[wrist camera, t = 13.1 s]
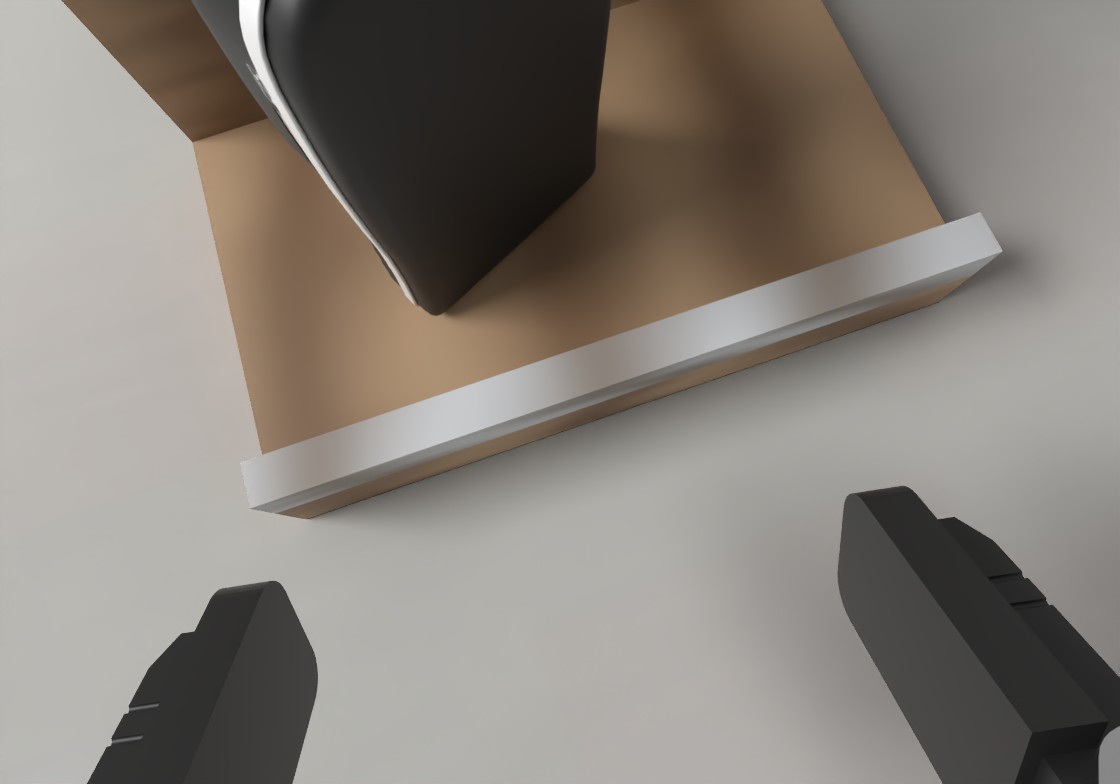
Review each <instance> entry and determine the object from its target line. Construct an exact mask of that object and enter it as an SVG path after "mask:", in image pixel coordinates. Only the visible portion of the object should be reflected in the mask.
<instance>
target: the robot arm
mask: <svg viewBox="0 0 1120 784" xmlns="http://www.w3.org/2000/svg"><path fill="white" fill-rule="evenodd" d="M838 584H839V590H840V595H841V599H842V602H843V605H844V608H845V610H846V613H847V615H848V617H849V619H850V621H851V622H852V624H853V626H854V628H855V629H856V631H857V633H858V635H859V637H860V638H861V640H862V642H863V644H864V645H865V647H866V649H867V651H868V652H869V654H870V656H871V658H872V659H873V661H874V663H875V665H876V666H877V668H878V670H879V672H880V673H881V675H882V677H883V679H884V681H885V682H886V684H887V686H888V688H889V689H890V691H891V693H892V695H893V696H894V698H895V700H896V702H897V703H898V705H899V707H900V709H901V710H902V712H903V714H904V716H905V718H906V719H907V721H908V723H909V725H910V726H911V728H912V730H913V732H914V733H915V735H916V737H917V739H918V740H919V742H920V744H921V746H922V747H923V749H924V751H925V753H926V755H927V756H928V758H929V760H930V762H931V763H932V765H933V767H934V769H935V770H936V772H937V774H938V776H939V777H940V779H941V781H942V783H943V784H1120V678H1119V676H1118V675H1117V674H1116V673H1115V672H1114V671H1113V670H1112V669H1111V668H1110V667H1109V666H1108V664H1107V663H1106V662H1105V661H1104V660H1103V659H1102V658H1101V657H1100V656H1099V655H1098V654H1097V653H1096V651H1095V650H1094V649H1093V648H1092V647H1091V646H1090V645H1089V644H1088V643H1087V642H1086V641H1085V640H1084V638H1083V637H1082V636H1081V635H1080V634H1079V633H1078V632H1077V631H1076V630H1075V629H1074V628H1073V626H1072V625H1071V624H1070V623H1069V622H1068V621H1067V620H1066V619H1065V618H1064V617H1063V616H1062V615H1061V613H1060V612H1059V611H1058V610H1057V609H1056V608H1055V607H1054V606H1053V605H1048V603H1047V601H1046V597H1045V596H1044V595H1043V594H1042V593H1041V592H1040V591H1039V590H1038V588H1037V587H1036V586H1035V585H1034V584H1033V583H1032V582H1031V581H1030V580H1029V579H1028V578H1024V577H1023V575H1022V571H1021V570H1020V569H1019V568H1018V567H1017V566H1016V565H1015V564H1014V562H1013V561H1012V560H1011V559H1010V558H1009V557H1008V556H1007V555H1006V554H1005V553H1004V552H1003V550H1002V549H1001V548H1000V547H999V546H998V545H997V544H996V543H995V542H994V541H993V540H991V539H990V538H988V537H986V536H985V535H983V534H981V533H980V532H978V531H977V530H975V529H973V528H972V527H970V526H968V525H967V524H965V523H963V522H962V521H960V520H958V519H957V518H955V517H951V518H945V519H937V518H936V517H935V516H934V514H933V513H932V512H931V511H930V510H929V509H928V507H927V506H926V505H925V504H924V503H923V502H922V500H921V499H920V498H919V497H918V496H917V494H916V493H915V492H914V491H913V490H911V489H910V488H908V487H906V486H899V487H892V488H886V489H879V490H873V491H866V492H859V493H853V494H849V495H848V496H847V498H846V500H845V504H844V512H843V522H842V533H841V543H840V554H839V564H838ZM317 684H318V671H317V663H316V658H315V654H314V651H313V649H312V647H311V645H310V642H309V640H308V638H307V636H306V634H305V632H304V630H303V628H302V625H301V623H300V621H299V619H298V617H297V615H296V613H295V611H294V608H293V606H292V604H291V602H290V600H289V598H288V596H287V593H286V591H285V590H284V588H283V586H282V585H281V584H280V583H279V582H277V581H268V582H262V583H255V584H249V585H242V586H236V587H229V588H223V589H220V590H218V591H217V592H216V593H215V594H214V595H213V596H212V598H211V600H210V601H209V603H208V605H207V607H206V609H205V612H204V614H203V616H202V618H201V620H200V622H199V624H198V626H197V628H196V630H195V632H189V633H182V634H180V636H179V637H178V638H177V639H176V640H175V641H174V642H173V643H172V644H171V645H170V646H169V647H168V648H167V649H166V651H165V652H164V653H163V654H162V655H161V656H160V657H159V658H158V659H157V660H156V661H155V662H154V663H153V664H152V665H151V667H150V668H149V669H148V671H147V673H146V675H145V677H144V678H143V680H142V682H141V684H140V686H139V688H138V690H137V691H136V693H135V695H134V697H133V699H132V701H131V703H130V705H129V713H127V714H124V716H123V718H122V719H121V721H120V723H119V725H118V727H117V729H116V731H115V733H114V734H113V736H112V738H111V739H112V745H111V746H109V747H106V749H105V751H104V753H103V755H102V757H101V759H100V761H99V762H98V764H97V766H96V768H95V770H94V772H93V774H92V775H91V777H90V779H89V781H88V783H87V784H292V783H293V780H294V776H295V772H296V768H297V765H298V761H299V757H300V754H301V750H302V746H303V743H304V739H305V735H306V732H307V728H308V724H309V721H310V717H311V713H312V709H313V706H314V702H315V698H316V693H317Z"/></svg>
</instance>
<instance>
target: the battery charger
mask: <svg viewBox="0 0 1120 784" xmlns="http://www.w3.org/2000/svg"><path fill="white" fill-rule="evenodd" d="M191 1H192V3H193V4H194V6H195V8H196V9H197V11H198V12H199V14H200V16H201V17H202V19H203V20H204V22H205V24H206V25H207V27H208V28H209V30H210V32H211V33H212V35H213V36H214V38H215V39H216V41H217V43H218V44H219V46H220V47H221V49H222V50H223V52H224V53H225V55H226V57H227V58H228V60H229V61H230V63H231V64H232V66H233V67H234V69H235V70H236V72H237V73H238V75H239V76H240V78H241V79H242V81H243V82H244V84H245V85H246V87H247V88H248V90H249V91H250V93H251V94H252V95H253V97H254V98H255V100H256V101H257V102H258V104H259V105H260V107H261V108H262V109H263V111H264V112H265V114H266V115H267V116H268V118H269V119H270V120H271V122H272V123H273V124H274V126H275V127H276V128H277V130H278V131H279V132H280V133H281V134H282V136H283V137H284V138H285V139H286V141H287V142H288V143H289V144H290V145H291V146H292V147H293V148H294V149H295V150H296V151H297V152H298V153H299V154H300V155H301V156H302V157H303V158H304V159H305V160H306V161H307V162H308V163H309V164H310V165H311V166H312V167H313V168H314V169H315V170H316V172H317V173H318V174H319V176H320V177H321V178H322V180H323V181H324V182H325V184H326V185H327V186H328V187H329V189H330V190H331V191H332V193H333V194H334V195H335V196H336V198H337V199H338V200H339V202H340V203H341V204H342V206H343V207H344V208H345V210H346V211H347V212H348V213H349V215H350V216H351V217H352V219H353V220H354V221H355V222H356V224H357V225H358V226H359V227H360V229H361V230H362V231H363V233H364V234H365V235H366V236H367V237H368V239H369V240H370V242H371V244H372V245H373V249H374V250H375V252H376V253H377V254H378V256H379V257H380V259H381V261H382V264H383V265H384V266H385V268H386V269H387V271H388V272H389V274H390V276H391V278H392V279H393V280H394V281H395V282H396V283H397V284H398V285H399V286H400V287H401V288H402V290H403V292H404V294H405V296H406V297H407V298H408V299H409V300H410V301H411V302H412V303H413V304H414V305H415V306H417V307H420V306H421V307H422V308H423V309H424V310H425V311H426V312H428V313H429V314H430V315H433V316H438V315H441V314H443V313H444V312H446V311H447V310H448V309H449V308H450V307H451V306H452V305H453V304H455V303H456V302H457V301H458V300H459V299H460V298H461V297H462V296H463V295H464V294H466V293H467V292H468V291H469V290H470V289H471V288H472V287H473V286H474V285H476V284H477V283H478V282H479V281H480V280H481V279H482V278H483V277H484V276H485V275H486V274H488V273H489V272H490V271H491V270H492V269H493V268H494V267H495V266H496V265H497V264H498V263H500V262H501V261H502V260H503V259H504V258H505V257H506V256H507V255H508V254H509V253H510V252H512V251H513V250H514V249H515V248H516V247H517V246H518V245H519V244H520V243H521V242H522V241H523V240H525V239H526V238H527V237H528V236H529V235H530V234H531V233H532V232H533V231H534V230H535V229H536V228H537V227H538V226H539V225H541V224H542V223H543V222H544V221H545V220H546V219H547V218H548V217H549V216H550V215H551V214H552V213H553V212H554V211H555V210H557V209H558V208H559V207H560V206H561V205H562V204H563V203H564V202H565V201H566V200H567V199H568V198H569V197H570V196H571V195H572V194H573V193H575V192H576V191H577V190H578V189H579V188H580V187H581V186H582V185H583V184H584V183H585V182H586V181H587V180H588V179H589V178H590V177H591V176H592V175H593V173H594V171H595V167H596V141H597V127H598V112H599V101H600V93H601V85H602V78H603V70H604V61H605V53H606V44H607V36H608V27H609V18H610V9H611V0H191Z"/></svg>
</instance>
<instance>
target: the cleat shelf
mask: <svg viewBox="0 0 1120 784" xmlns="http://www.w3.org/2000/svg"><path fill="white" fill-rule="evenodd" d="M62 1H63V2H64V3H65V5H66V6H67V7H68V8H69V9H70V10H71V11H72V12H73V13H74V14H75V15H76V16H77V18H78V19H79V20H80V21H81V22H82V23H83V24H84V25H85V26H86V27H87V28H88V29H89V31H90V32H91V33H92V34H93V35H94V36H95V37H96V38H97V39H98V40H99V41H100V42H101V43H102V45H103V46H104V47H105V48H106V49H107V50H108V51H109V52H110V53H111V54H112V55H113V56H114V58H115V59H116V60H117V61H118V62H119V63H120V64H121V65H122V66H123V67H124V68H125V69H126V71H127V72H128V73H129V74H130V75H131V76H132V77H133V78H134V79H135V80H136V81H137V82H138V84H139V85H140V86H141V87H142V88H143V89H144V90H145V91H146V92H147V93H148V94H149V95H150V97H151V98H152V99H153V100H154V101H155V102H156V103H157V104H158V105H159V106H160V107H161V108H162V110H163V111H164V112H165V113H166V114H167V115H168V116H169V117H170V118H171V119H172V120H173V121H174V123H175V124H176V125H177V126H178V127H179V128H180V129H181V130H182V131H183V132H184V133H185V134H186V136H187V137H188V138H189V139H190V140H191V141H192V142H193V146H194V151H195V155H196V160H197V164H198V169H199V173H200V178H201V182H202V187H203V191H204V196H205V200H206V204H207V209H208V213H209V218H210V222H211V227H212V231H213V236H214V240H215V245H216V249H217V254H218V258H219V263H220V267H221V272H222V276H223V281H224V285H225V289H226V294H227V298H228V303H229V307H230V312H231V316H232V321H233V325H234V330H235V334H236V339H237V343H238V348H239V352H240V357H241V361H242V366H243V370H244V375H245V379H246V383H247V388H248V392H249V397H250V401H251V406H252V410H253V415H254V419H255V424H256V428H257V433H258V437H259V442H260V446H261V451H262V455H260V456H257V457H254V458H251V459H248V460H246V461H243V462H240V465H241V470H242V474H243V479H244V484H245V488H246V493H247V498H248V502H249V507H250V509H255V510H260V511H265V512H270V513H276V514H281V515H286V516H291V517H297V518H302V519H309V518H312V517H315V516H317V515H320V514H323V513H326V512H329V511H332V510H335V509H338V508H341V507H344V506H347V505H349V504H352V503H355V502H358V501H361V500H364V499H367V498H370V497H373V496H376V495H379V494H381V493H384V492H387V491H390V490H393V489H396V488H399V487H402V486H405V485H408V484H411V483H414V482H416V481H419V480H422V479H425V478H428V477H431V476H434V475H437V474H440V473H443V472H446V471H448V470H451V469H454V468H457V467H460V466H463V465H466V464H469V463H472V462H475V461H478V460H481V459H483V458H486V457H489V456H492V455H495V454H498V453H501V452H504V451H507V450H510V449H513V448H515V447H518V446H521V445H524V444H527V443H530V442H533V441H536V440H539V439H542V438H545V437H547V436H550V435H553V434H556V433H559V432H562V431H565V430H568V429H571V428H574V427H577V426H580V425H582V424H585V423H588V422H591V421H594V420H597V419H600V418H603V417H606V416H609V415H612V414H614V413H617V412H620V411H623V410H626V409H629V408H632V407H635V406H638V405H641V404H644V403H646V402H649V401H652V400H655V399H658V398H661V397H664V396H667V395H670V394H673V393H676V392H679V391H681V390H684V389H687V388H690V387H693V386H696V385H699V384H702V383H705V382H708V381H711V380H713V379H716V378H719V377H722V376H725V375H728V374H731V373H734V372H737V371H740V370H743V369H746V368H748V367H751V366H754V365H757V364H760V363H763V362H766V361H769V360H772V359H775V358H778V357H780V356H783V355H786V354H789V353H792V352H795V351H798V350H801V349H804V348H807V347H810V346H812V345H815V344H818V343H821V342H824V341H827V340H830V339H833V338H836V337H839V336H842V335H845V334H847V333H850V332H853V331H856V330H859V329H862V328H865V327H868V326H871V325H874V324H877V323H879V322H882V321H885V320H888V319H891V318H894V317H897V316H900V315H903V314H906V313H909V312H912V311H914V310H917V309H920V308H923V307H926V306H929V305H932V304H935V303H938V302H939V301H940V300H942V299H943V298H944V297H945V296H947V295H948V294H949V293H950V292H952V291H953V290H954V289H956V288H957V287H958V286H959V285H961V284H962V283H963V282H965V281H966V280H967V279H968V278H970V277H971V276H972V275H973V274H975V273H976V272H977V271H979V270H980V269H981V268H982V267H984V266H985V265H986V264H988V263H989V262H990V261H991V260H993V259H994V258H995V257H996V256H998V255H999V254H1000V253H1002V252H1003V251H1002V249H1001V247H1000V245H999V244H998V242H997V240H996V238H995V237H994V235H993V233H992V231H991V230H990V228H989V226H988V224H987V223H986V221H985V219H984V217H983V216H982V214H981V212H979V213H976V214H973V215H970V216H967V217H964V218H961V219H958V220H955V221H952V222H949V223H946V224H945V222H944V221H943V219H942V217H941V215H940V213H939V212H938V210H937V208H936V206H935V204H934V203H933V201H932V199H931V197H930V195H929V194H928V192H927V190H926V188H925V186H924V185H923V183H922V181H921V179H920V177H919V175H918V174H917V172H916V170H915V168H914V166H913V165H912V163H911V161H910V159H909V157H908V156H907V154H906V152H905V150H904V148H903V147H902V145H901V143H900V141H899V139H898V138H897V136H896V134H895V132H894V130H893V128H892V127H891V125H890V123H889V121H888V119H887V118H886V116H885V114H884V112H883V110H882V109H881V107H880V105H879V103H878V101H877V100H876V98H875V96H874V94H873V92H872V91H871V89H870V87H869V85H868V83H867V81H866V80H865V78H864V76H863V74H862V72H861V71H860V69H859V67H858V65H857V63H856V62H855V60H854V58H853V56H852V54H851V53H850V51H849V49H848V47H847V45H846V44H845V42H844V40H843V38H842V36H841V34H840V33H839V31H838V29H837V27H836V25H835V24H834V22H833V20H832V18H831V16H830V15H829V13H828V11H827V9H826V7H825V6H824V4H823V2H822V0H611V9H610V18H609V27H608V36H607V44H606V53H605V61H604V70H603V78H602V85H601V93H600V101H599V112H598V127H597V141H596V167H595V171H594V173H593V175H592V176H591V177H590V178H589V179H588V180H587V181H586V182H585V183H584V184H583V185H582V186H581V187H580V188H579V189H578V190H577V191H576V192H575V193H573V194H572V195H571V196H570V197H569V198H568V199H567V200H566V201H565V202H564V203H563V204H562V205H561V206H560V207H559V208H558V209H557V210H555V211H554V212H553V213H552V214H551V215H550V216H549V217H548V218H547V219H546V220H545V221H544V222H543V223H542V224H541V225H539V226H538V227H537V228H536V229H535V230H534V231H533V232H532V233H531V234H530V235H529V236H528V237H527V238H526V239H525V240H523V241H522V242H521V243H520V244H519V245H518V246H517V247H516V248H515V249H514V250H513V251H512V252H510V253H509V254H508V255H507V256H506V257H505V258H504V259H503V260H502V261H501V262H500V263H498V264H497V265H496V266H495V267H494V268H493V269H492V270H491V271H490V272H489V273H488V274H486V275H485V276H484V277H483V278H482V279H481V280H480V281H479V282H478V283H477V284H476V285H474V286H473V287H472V288H471V289H470V290H469V291H468V292H467V293H466V294H464V295H463V296H462V297H461V298H460V299H459V300H458V301H457V302H456V303H455V304H453V305H452V306H451V307H450V308H449V309H448V310H447V311H446V312H444V313H443V314H441V315H438V316H433V315H430V314H429V313H428V312H426V311H425V310H424V309H423V308H422V307H421V306H420V307H417V306H415V305H414V304H413V303H412V302H411V301H410V300H409V299H408V298H407V297H406V296H405V294H404V292H403V290H402V288H401V287H400V286H399V285H398V284H397V283H396V282H395V281H394V280H393V279H392V278H391V276H390V274H389V272H388V271H387V269H386V268H385V266H384V265H383V264H382V261H381V259H380V257H379V256H378V254H377V253H376V252H375V250H374V249H373V245H372V244H371V242H370V240H369V239H368V237H367V236H366V235H365V234H364V233H363V231H362V230H361V229H360V227H359V226H358V225H357V224H356V222H355V221H354V220H353V219H352V217H351V216H350V215H349V213H348V212H347V211H346V210H345V208H344V207H343V206H342V204H341V203H340V202H339V200H338V199H337V198H336V196H335V195H334V194H333V193H332V191H331V190H330V189H329V187H328V186H327V185H326V184H325V182H324V181H323V180H322V178H321V177H320V176H319V174H318V173H317V172H316V170H315V169H314V168H313V167H312V166H311V165H310V164H309V163H308V162H307V161H306V160H305V159H304V158H303V157H302V156H301V155H300V154H299V153H298V152H297V151H296V150H295V149H294V148H293V147H292V146H291V145H290V144H289V143H288V142H287V141H286V139H285V138H284V137H283V136H282V134H281V133H280V132H279V131H278V130H277V128H276V127H275V126H274V124H273V123H272V122H271V120H270V119H269V118H268V116H267V115H266V114H265V112H264V111H263V109H262V108H261V107H260V105H259V104H258V102H257V101H256V100H255V98H254V97H253V95H252V94H251V93H250V91H249V90H248V88H247V87H246V85H245V84H244V82H243V81H242V79H241V78H240V76H239V75H238V73H237V72H236V70H235V69H234V67H233V66H232V64H231V63H230V61H229V60H228V58H227V57H226V55H225V53H224V52H223V50H222V49H221V47H220V46H219V44H218V43H217V41H216V39H215V38H214V36H213V35H212V33H211V32H210V30H209V28H208V27H207V25H206V24H205V22H204V20H203V19H202V17H201V16H200V14H199V12H198V11H197V9H196V8H195V6H194V4H193V3H192V1H191V0H62Z"/></svg>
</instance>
